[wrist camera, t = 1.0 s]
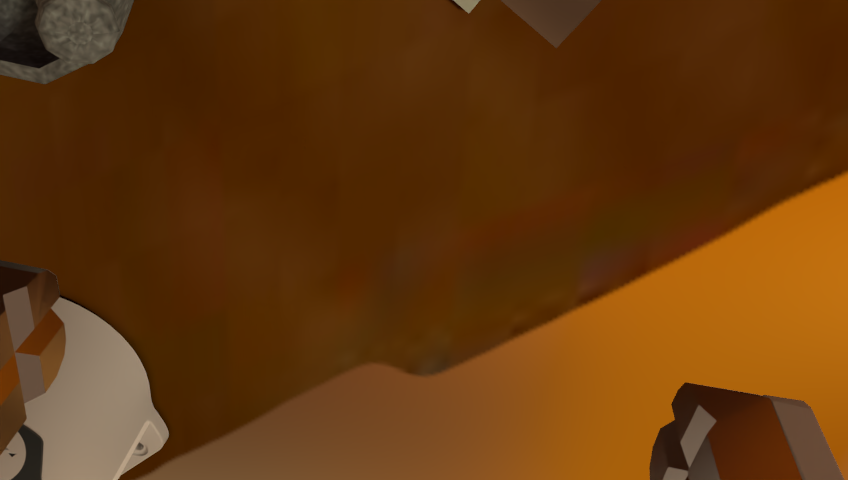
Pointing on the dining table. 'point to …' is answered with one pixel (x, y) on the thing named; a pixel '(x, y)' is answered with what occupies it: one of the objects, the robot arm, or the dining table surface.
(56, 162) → the dining table surface
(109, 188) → the dining table surface
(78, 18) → the mortar and pestle
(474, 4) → the mat
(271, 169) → the dining table surface
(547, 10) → the kicker sled
